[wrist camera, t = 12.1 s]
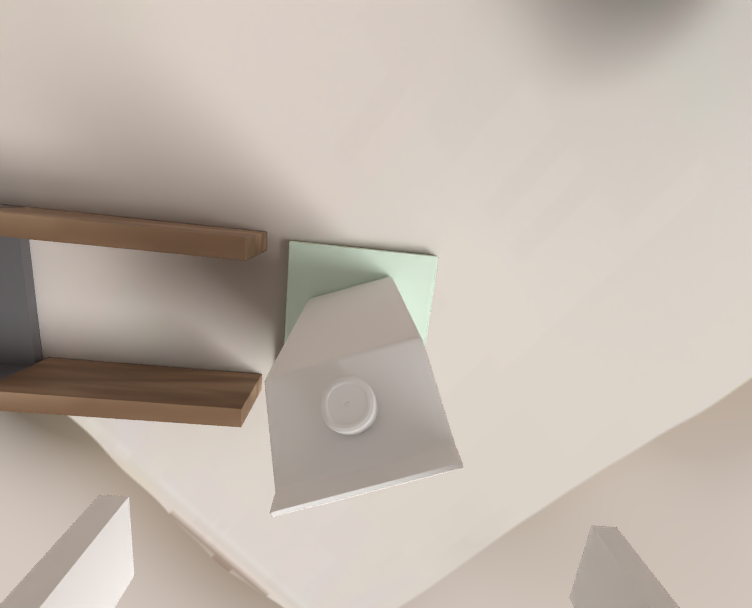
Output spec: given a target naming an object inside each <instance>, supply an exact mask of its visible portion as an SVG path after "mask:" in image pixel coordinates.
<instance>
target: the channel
mask: <svg viewBox="0 0 752 608" xmlns="http://www.w3.org/2000/svg"><path fill="white" fill-rule="evenodd" d="M0 236H3V237H13V238H23V239H33V240H43V241H53V242H63V243H74V244H84V245H94V246H104V247H114V248H124V249H134V250H145V251H155V252H165V253H175V254H185V255H195V256H206V257H216V258H226V259H236V260H247V259H249V258H251V257H253V256H255V255H258V254H260V253H262V252H264V251H266V245H267V232H263V231H253V230H243V229H234V228H224V227H215V226H205V225H195V224H186V223H176V222H166V221H157V220H147V219H138V218H128V217H118V216H109V215H99V214H90V213H80V212H70V211H61V210H51V209H42V208H32V207H0ZM261 383H262V374H253V373H241V372H228V371H215V370H202V369H190V368H177V367H164V366H151V365H139V364H126V363H113V362H100V361H87V360H75V359H62V358H49V357H48V358H46V359H44V360H42V361H40V362H38V363H36V364H34V365H32V366H30V367H28V368H26V369H23V370H21V371H19V372H17V373H15V374H13V375H11V376H9V377H7V378H5V379H3V380H1V381H0V411H14V412H28V413H42V414H56V415H71V416H86V417H100V418H115V419H129V420H144V421H159V422H173V423H188V424H202V425H217V426H232V427H241V426H242V424H243V423H244V421H245V419H246V417H247V415H248V413H249V411H250V410H251V408H252V406H253V404H254V402H255V400H256V398H257V397H258V395H259V393H260V391H261Z"/></svg>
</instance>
